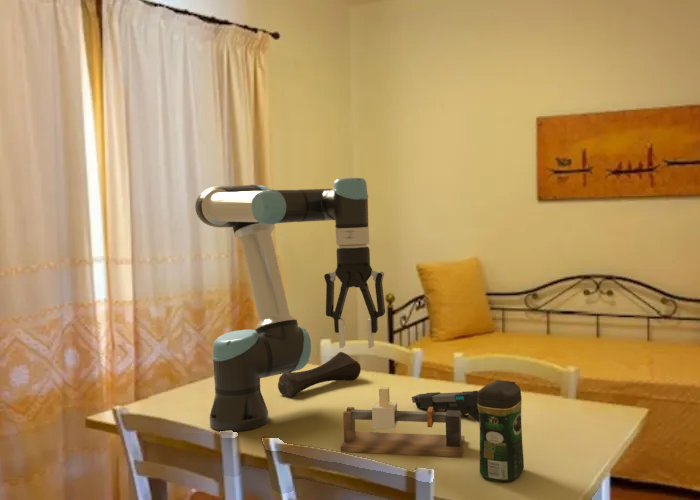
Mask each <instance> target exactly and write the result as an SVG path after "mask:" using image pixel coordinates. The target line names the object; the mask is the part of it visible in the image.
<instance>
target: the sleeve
mask: <svg viewBox="0 0 700 500" xmlns="http://www.w3.org/2000/svg"><path fill="white" fill-rule="evenodd" d="M378 398H379V399H378V401H375V402H374V404H373V406H372V407H371V410H372V420H371V422H372V425H371V426H372V430H373V429H374V430H395V429H396V428H397V426H398V424H399V423H398V422H399V421H395V411H398V402H396V401H394V402H392V401H391V402H390V386H380V387H379V388H378Z"/></svg>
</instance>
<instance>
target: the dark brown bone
mask: <svg viewBox="0 0 700 500" xmlns="http://www.w3.org/2000/svg"><path fill="white" fill-rule="evenodd" d="M361 371H362V370H361V365H360V363H359V362H358V361H356V360H355V359H354V358H352V357H351V356H350V355H349V354H347V353H345V352H342V351H339V352H337V354H335V355H334V356H333V357H332V358H330V359H329V360H328V361H326V362H325V363H323V364H322V365H319V366H317V367H314V368H312V369H308V370H303V371H293V372H291V373H284V374H280V376H279V378H278V382H277V389H278V390H279V391H278V392H279V393H280V395H282V396H284V397H286V398H288V399H289V398H290V399H291V398H294V397H295V396H297V395H298V394H299V393H301V392H302V391H305V390H306V389H308V388H310V387H312V386H316V385H318V384H320V383H325V382H332V381H333V382H334V381H341V382H342V381H344V382H345V381H347V382H353V381H354V382H355V380H357V379H358V378H359V377H360V374H361Z"/></svg>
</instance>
